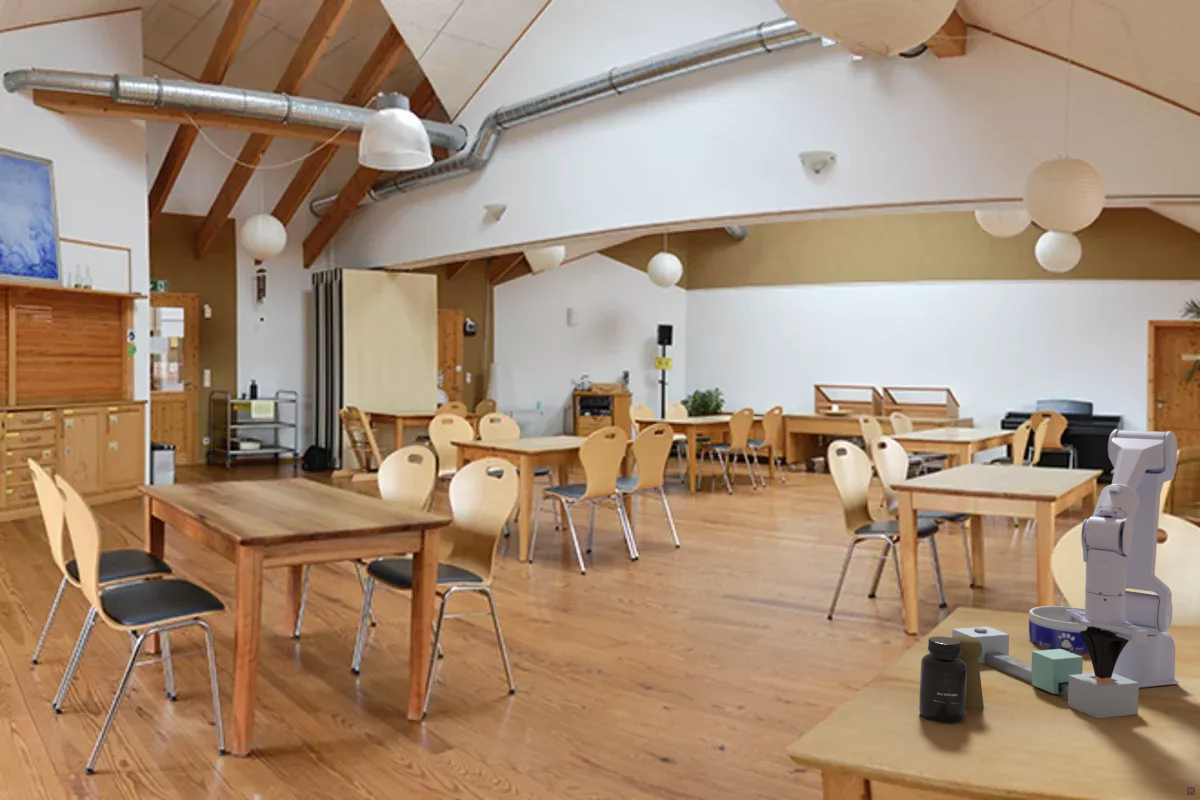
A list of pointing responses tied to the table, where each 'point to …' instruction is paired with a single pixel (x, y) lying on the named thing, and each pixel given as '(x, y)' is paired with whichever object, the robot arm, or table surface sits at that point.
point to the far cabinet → (986, 640)
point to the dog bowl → (1056, 629)
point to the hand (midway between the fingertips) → (1103, 676)
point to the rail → (1018, 669)
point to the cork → (972, 671)
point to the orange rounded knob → (1103, 679)
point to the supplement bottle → (943, 681)
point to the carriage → (1054, 668)
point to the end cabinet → (1103, 695)
